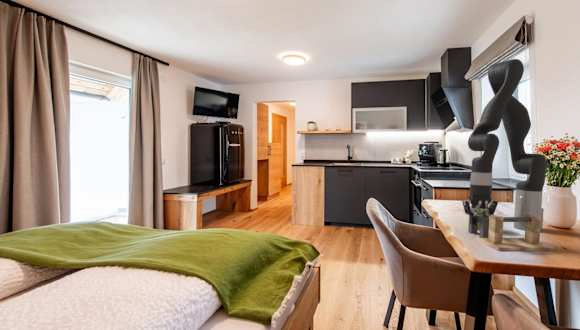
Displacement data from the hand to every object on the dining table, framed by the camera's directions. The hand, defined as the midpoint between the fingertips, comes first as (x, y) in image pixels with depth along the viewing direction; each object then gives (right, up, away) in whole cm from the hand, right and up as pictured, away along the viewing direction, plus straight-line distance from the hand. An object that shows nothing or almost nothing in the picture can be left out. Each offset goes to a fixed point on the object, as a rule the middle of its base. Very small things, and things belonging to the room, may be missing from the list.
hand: (478, 225), depth 121 cm
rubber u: (0, -4, 0) cm, 4 cm away
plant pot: (+7, -4, +11) cm, 13 cm away
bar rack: (+5, -5, -11) cm, 14 cm away
